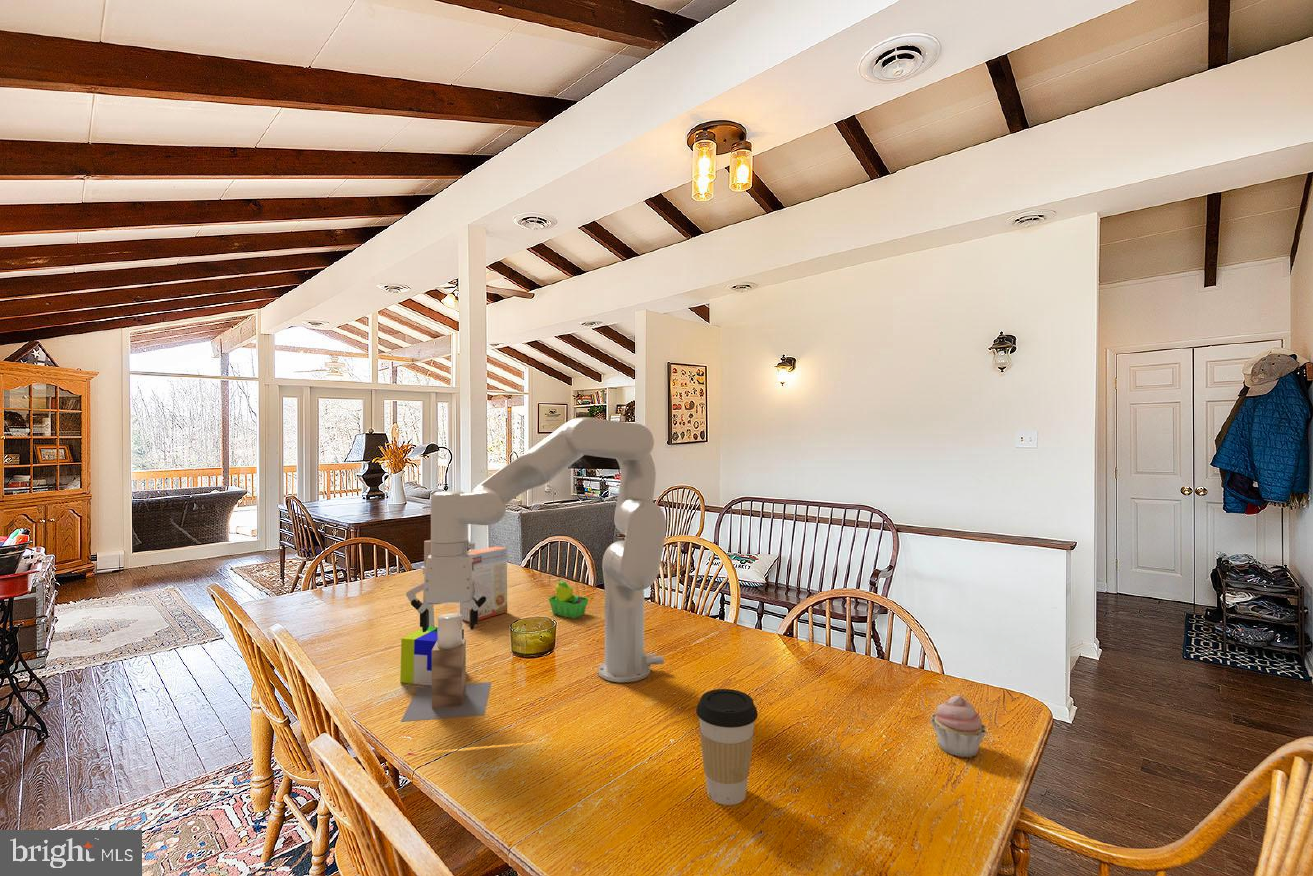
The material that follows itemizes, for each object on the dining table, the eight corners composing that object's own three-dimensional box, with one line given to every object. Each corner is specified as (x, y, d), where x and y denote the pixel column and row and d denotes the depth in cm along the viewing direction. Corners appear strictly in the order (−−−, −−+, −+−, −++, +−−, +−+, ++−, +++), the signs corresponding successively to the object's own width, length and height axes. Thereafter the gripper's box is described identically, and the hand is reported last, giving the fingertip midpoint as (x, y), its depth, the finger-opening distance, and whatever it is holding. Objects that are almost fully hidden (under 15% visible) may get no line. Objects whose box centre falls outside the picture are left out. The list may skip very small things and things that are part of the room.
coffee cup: (750, 774, 99) (751, 686, 99) (763, 812, 90) (763, 714, 89) (693, 775, 99) (693, 687, 99) (699, 813, 89) (699, 715, 89)
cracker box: (497, 609, 192) (497, 545, 192) (508, 612, 188) (508, 547, 188) (458, 619, 181) (458, 552, 181) (469, 623, 177) (469, 554, 177)
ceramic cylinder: (463, 640, 128) (463, 612, 128) (460, 648, 123) (460, 619, 123) (439, 641, 127) (439, 613, 127) (435, 649, 123) (435, 621, 122)
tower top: (465, 666, 129) (465, 639, 129) (461, 677, 123) (461, 648, 123) (437, 668, 128) (437, 640, 128) (431, 679, 122) (431, 650, 122)
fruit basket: (590, 614, 187) (590, 578, 187) (572, 621, 180) (572, 584, 180) (563, 608, 193) (563, 574, 193) (544, 615, 186) (544, 579, 186)
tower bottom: (465, 693, 129) (465, 666, 129) (461, 705, 123) (461, 677, 123) (437, 695, 128) (437, 668, 128) (431, 708, 122) (431, 679, 122)
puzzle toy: (439, 686, 132) (440, 641, 133) (400, 682, 134) (401, 638, 135) (462, 670, 142) (463, 629, 142) (425, 667, 144) (426, 626, 145)
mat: (491, 683, 135) (491, 682, 135) (484, 716, 119) (484, 714, 119) (418, 689, 132) (418, 687, 132) (400, 723, 116) (400, 721, 116)
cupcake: (957, 767, 102) (957, 710, 102) (919, 740, 111) (919, 687, 111) (999, 759, 105) (1000, 703, 104) (959, 733, 114) (959, 682, 113)
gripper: (492, 544, 131) (492, 621, 131) (410, 547, 127) (410, 625, 128) (489, 551, 123) (489, 632, 123) (402, 554, 120) (402, 637, 120)
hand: (449, 628), depth 125 cm, fingers open, 9 cm apart
